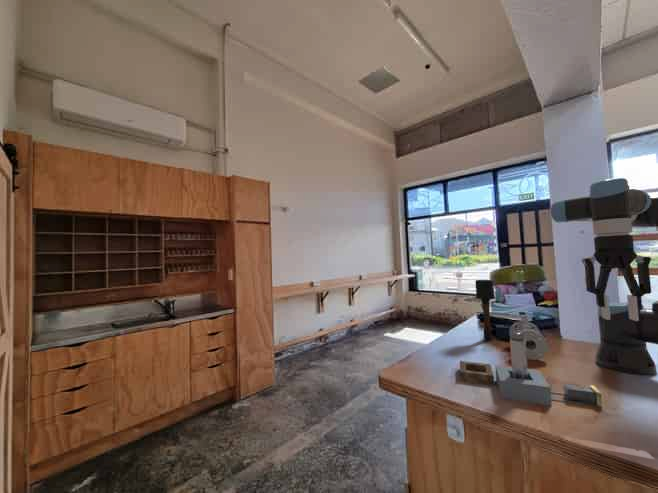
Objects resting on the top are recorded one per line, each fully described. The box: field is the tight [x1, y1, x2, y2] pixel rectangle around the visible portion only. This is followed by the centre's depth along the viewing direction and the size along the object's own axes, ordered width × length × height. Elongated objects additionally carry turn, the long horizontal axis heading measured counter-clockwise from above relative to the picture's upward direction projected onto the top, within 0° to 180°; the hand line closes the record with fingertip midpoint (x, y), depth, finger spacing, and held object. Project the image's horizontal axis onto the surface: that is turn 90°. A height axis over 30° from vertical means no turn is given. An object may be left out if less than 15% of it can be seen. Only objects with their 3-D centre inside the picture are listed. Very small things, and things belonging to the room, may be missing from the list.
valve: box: [508, 311, 550, 361], centre depth 120 cm, size 22×12×15 cm, turn 151°
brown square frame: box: [459, 360, 495, 386], centre depth 95 cm, size 10×10×4 cm
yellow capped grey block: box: [563, 383, 603, 408], centre depth 78 cm, size 7×4×4 cm, turn 65°
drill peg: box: [509, 332, 529, 380], centre depth 84 cm, size 4×4×18 cm
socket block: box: [495, 365, 585, 407], centre depth 82 cm, size 20×12×6 cm, turn 65°
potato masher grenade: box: [475, 279, 496, 342], centre depth 137 cm, size 8×9×30 cm
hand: (619, 318), depth 75 cm, fingers open, 5 cm apart
